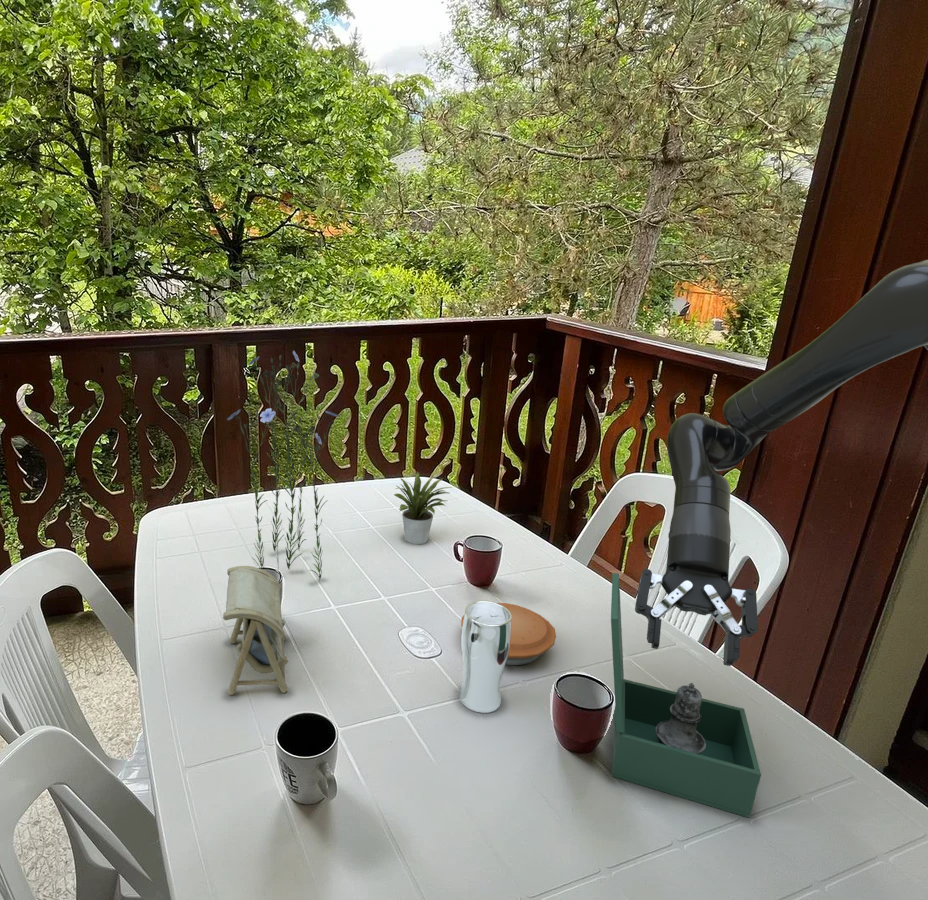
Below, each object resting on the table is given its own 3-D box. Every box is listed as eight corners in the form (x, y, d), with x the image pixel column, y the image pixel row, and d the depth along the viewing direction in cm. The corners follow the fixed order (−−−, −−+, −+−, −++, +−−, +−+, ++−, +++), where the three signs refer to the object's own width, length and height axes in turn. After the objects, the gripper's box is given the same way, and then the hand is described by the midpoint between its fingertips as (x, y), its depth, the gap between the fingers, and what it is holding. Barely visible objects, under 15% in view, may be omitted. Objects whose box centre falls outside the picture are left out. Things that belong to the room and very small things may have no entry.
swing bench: (289, 694, 97) (287, 609, 92) (225, 698, 96) (221, 612, 91) (285, 637, 111) (284, 561, 106) (230, 640, 110) (226, 563, 105)
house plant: (422, 562, 137) (426, 492, 132) (372, 542, 146) (374, 475, 141) (457, 540, 147) (462, 474, 142) (409, 523, 156) (412, 460, 151)
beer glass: (447, 698, 96) (453, 611, 92) (474, 678, 101) (482, 594, 96) (485, 722, 91) (495, 632, 87) (512, 700, 96) (522, 613, 91)
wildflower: (327, 601, 122) (329, 369, 108) (216, 586, 127) (204, 362, 113) (351, 549, 143) (355, 349, 129) (254, 538, 148) (248, 344, 134)
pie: (466, 613, 118) (468, 589, 117) (553, 629, 113) (557, 605, 112) (453, 662, 104) (455, 636, 103) (552, 683, 100) (556, 656, 98)
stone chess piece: (641, 748, 86) (655, 673, 82) (673, 737, 88) (689, 664, 84) (677, 781, 81) (695, 703, 77) (711, 768, 83) (730, 691, 79)
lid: (618, 573, 87) (612, 572, 87) (618, 618, 76) (610, 618, 76) (623, 675, 90) (617, 674, 91) (623, 732, 80) (616, 731, 80)
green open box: (734, 748, 87) (744, 708, 85) (749, 818, 76) (761, 774, 74) (613, 715, 93) (620, 678, 91) (612, 776, 82) (619, 735, 80)
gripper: (646, 523, 90) (635, 636, 84) (765, 542, 84) (762, 664, 78) (640, 542, 96) (628, 648, 90) (750, 560, 91) (746, 675, 84)
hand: (691, 655), depth 84 cm, fingers open, 8 cm apart
